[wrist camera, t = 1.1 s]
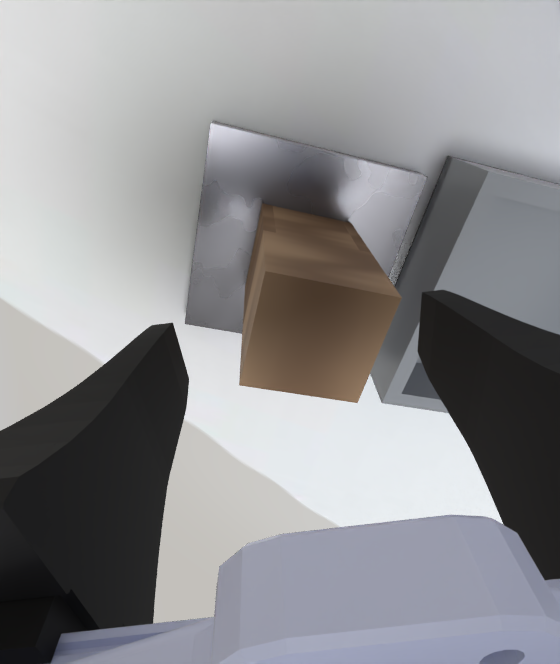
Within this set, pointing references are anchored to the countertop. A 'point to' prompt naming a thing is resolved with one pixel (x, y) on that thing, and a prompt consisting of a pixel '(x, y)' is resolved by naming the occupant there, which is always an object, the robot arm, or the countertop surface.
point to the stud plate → (291, 193)
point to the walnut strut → (313, 307)
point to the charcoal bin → (474, 265)
